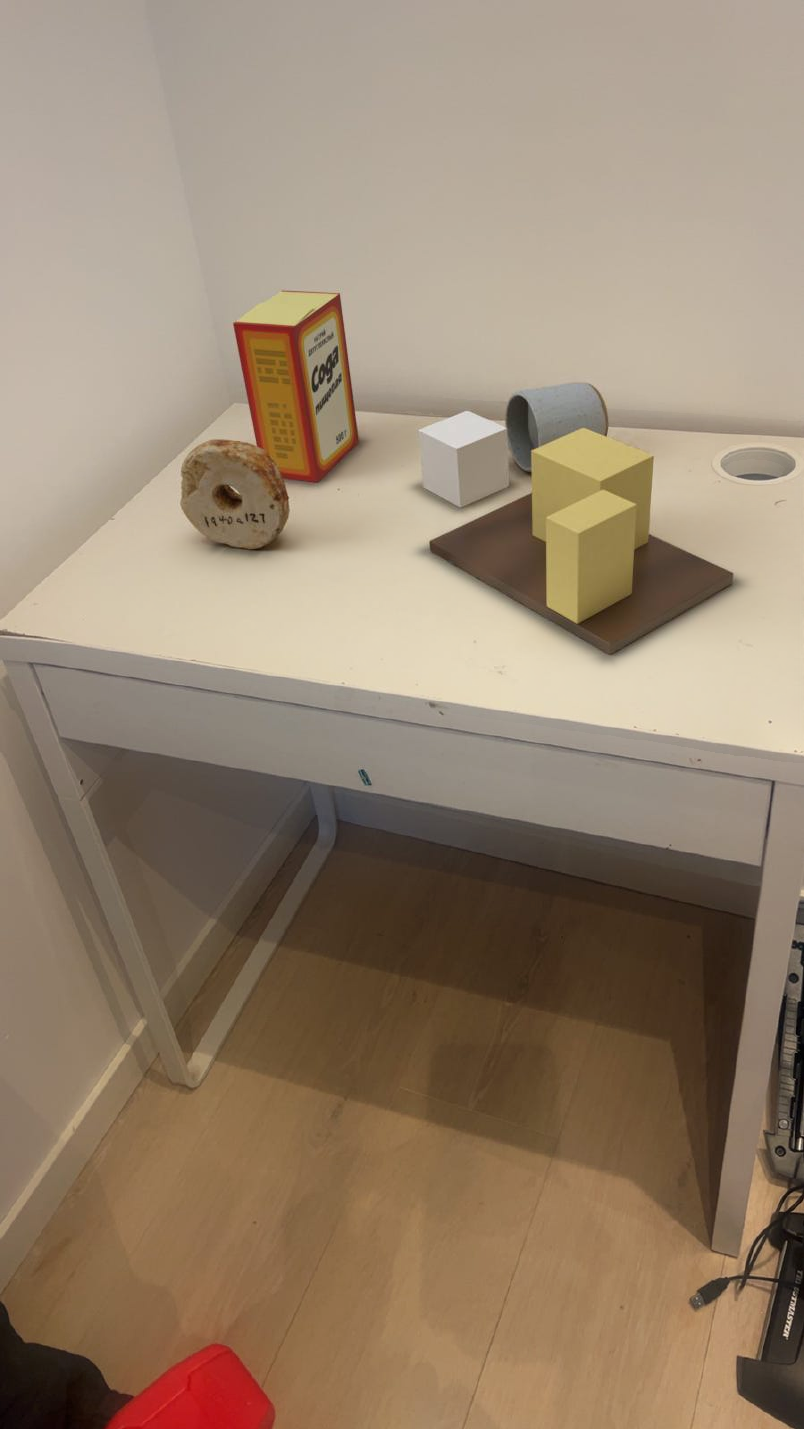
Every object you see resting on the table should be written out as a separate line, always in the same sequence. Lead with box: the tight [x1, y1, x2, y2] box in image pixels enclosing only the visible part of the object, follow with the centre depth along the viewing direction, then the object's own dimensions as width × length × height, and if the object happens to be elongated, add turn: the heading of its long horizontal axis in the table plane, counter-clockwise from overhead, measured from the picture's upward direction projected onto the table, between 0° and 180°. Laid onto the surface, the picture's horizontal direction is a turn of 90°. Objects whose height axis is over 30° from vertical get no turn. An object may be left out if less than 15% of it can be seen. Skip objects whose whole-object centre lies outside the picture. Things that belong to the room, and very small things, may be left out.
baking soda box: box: [232, 289, 360, 483], centre depth 104 cm, size 10×6×16 cm
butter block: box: [531, 428, 655, 550], centre depth 87 cm, size 8×6×8 cm
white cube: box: [417, 410, 510, 509], centre depth 99 cm, size 6×6×6 cm
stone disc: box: [179, 438, 291, 550], centre depth 94 cm, size 10×4×10 cm, turn 69°
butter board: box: [429, 492, 735, 655], centre depth 88 cm, size 22×14×1 cm, turn 37°
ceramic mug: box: [504, 381, 609, 473], centre depth 103 cm, size 11×8×8 cm
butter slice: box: [546, 490, 636, 624], centre depth 80 cm, size 4×6×8 cm, turn 127°
